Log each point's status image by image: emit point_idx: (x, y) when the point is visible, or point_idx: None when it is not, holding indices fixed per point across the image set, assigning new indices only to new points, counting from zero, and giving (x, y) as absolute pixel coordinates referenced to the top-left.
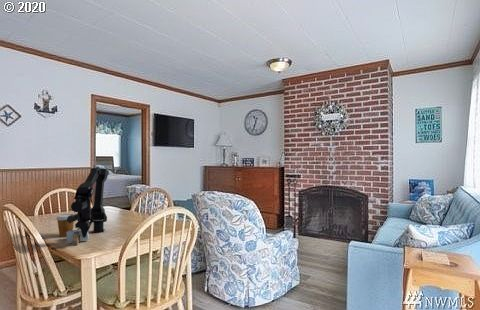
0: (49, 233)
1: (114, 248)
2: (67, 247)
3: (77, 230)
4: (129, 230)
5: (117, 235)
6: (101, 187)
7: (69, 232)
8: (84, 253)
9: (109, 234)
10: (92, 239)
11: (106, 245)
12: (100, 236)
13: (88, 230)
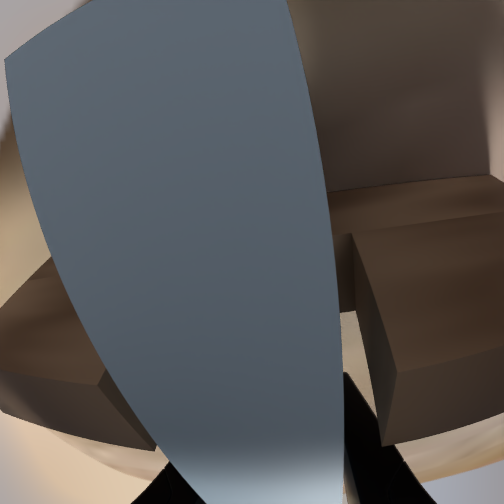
0: None
1: (109, 466)
2: (16, 203)
3: (194, 458)
4: (492, 462)
5: (411, 468)
6: None
7: (49, 189)
8: None
9: (476, 426)
10: (363, 379)
11: (148, 457)
12: None
13: (347, 492)
